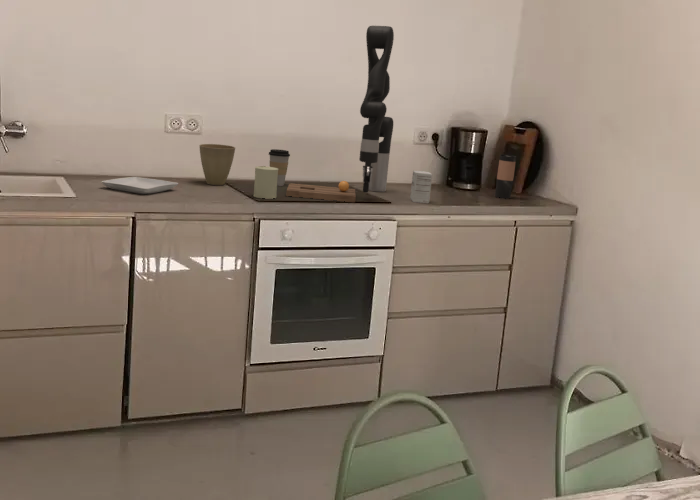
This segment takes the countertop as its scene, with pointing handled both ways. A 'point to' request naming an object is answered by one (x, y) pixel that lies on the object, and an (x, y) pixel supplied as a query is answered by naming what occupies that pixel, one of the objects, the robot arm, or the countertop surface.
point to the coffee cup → (279, 163)
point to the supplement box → (421, 186)
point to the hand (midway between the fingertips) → (365, 191)
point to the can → (265, 182)
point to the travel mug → (505, 176)
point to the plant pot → (216, 162)
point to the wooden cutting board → (320, 192)
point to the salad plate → (139, 185)
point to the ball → (343, 186)
